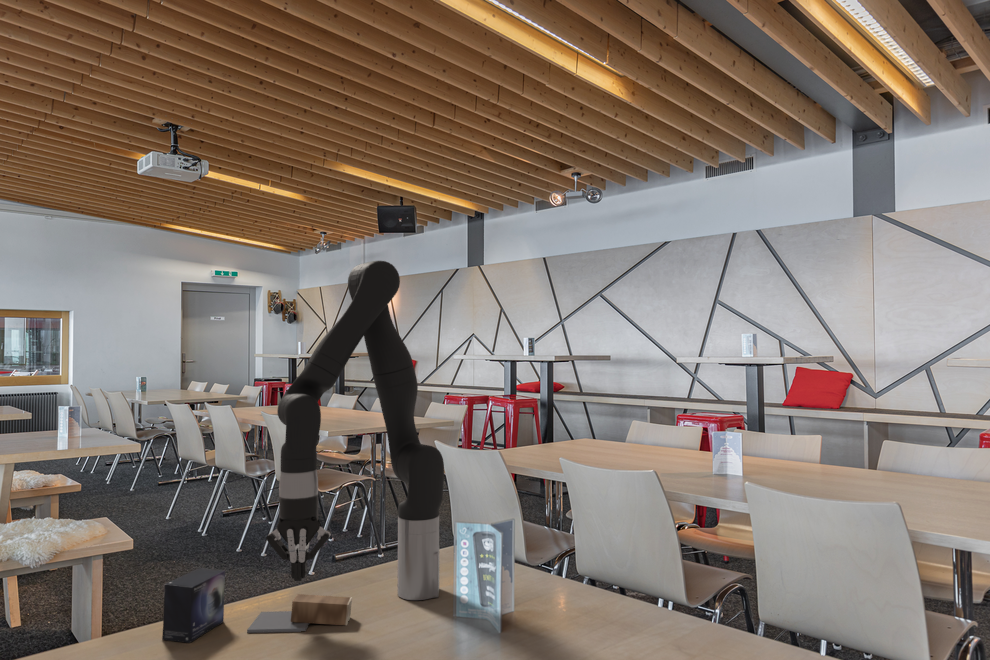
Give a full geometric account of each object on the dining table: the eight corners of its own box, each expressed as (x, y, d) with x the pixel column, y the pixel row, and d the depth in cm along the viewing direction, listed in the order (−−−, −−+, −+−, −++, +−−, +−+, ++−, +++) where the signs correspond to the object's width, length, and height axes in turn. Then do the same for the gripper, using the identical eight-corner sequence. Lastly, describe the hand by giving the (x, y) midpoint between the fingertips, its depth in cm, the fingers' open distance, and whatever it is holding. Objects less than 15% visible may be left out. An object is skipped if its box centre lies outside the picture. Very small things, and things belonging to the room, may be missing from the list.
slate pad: (315, 613, 136) (315, 610, 136) (305, 631, 127) (305, 628, 127) (261, 614, 136) (261, 611, 136) (247, 632, 127) (247, 629, 127)
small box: (191, 644, 122) (192, 586, 122) (160, 641, 123) (161, 584, 124) (225, 622, 132) (226, 568, 133) (197, 619, 134) (198, 566, 134)
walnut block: (295, 614, 134) (350, 617, 134) (290, 621, 130) (346, 625, 130) (297, 594, 134) (352, 597, 134) (292, 601, 130) (348, 604, 130)
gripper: (335, 488, 137) (336, 572, 136) (271, 489, 136) (271, 574, 136) (328, 496, 129) (328, 585, 129) (259, 497, 129) (259, 587, 128)
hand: (299, 579), depth 132 cm, fingers closed
